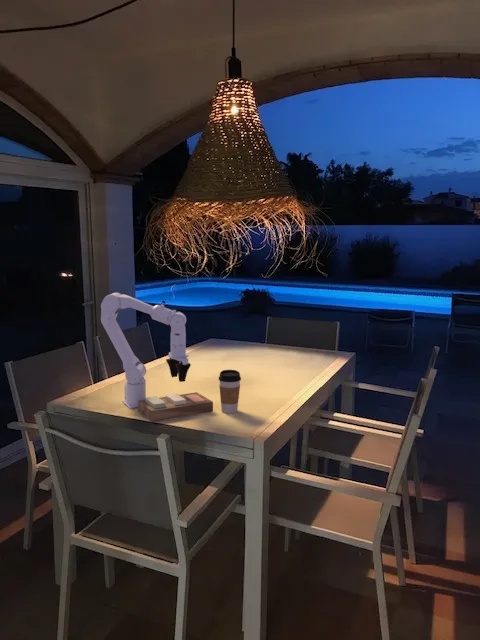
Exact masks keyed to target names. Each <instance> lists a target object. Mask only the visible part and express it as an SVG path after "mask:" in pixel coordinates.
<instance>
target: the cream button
mask: <svg viewBox="0 0 480 640" xmlns="http://www.w3.org/2000/svg"><path fill="white" fill-rule="evenodd" d="M180 395H181V394H178V393H170V394H165V395H164V397H166V400H167V401H169V402H170V403H171V404H173V405H174V406H175V405H182V404H186V399H184V398H183V397H181V396H180Z"/></svg>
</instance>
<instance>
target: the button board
mask: <svg viewBox="0 0 480 640" xmlns="http://www.w3.org/2000/svg"><path fill="white" fill-rule="evenodd" d="M194 394H196V395H198V396H199V397H201V398H203V399H204V400H206V401H201V402H193V401H191V400H190V399H188V398H187V397H185V396H187V395H194ZM179 395H180V396H181V397H183V398H184V399H186V404H182V405H175V406H174V405H173V404H171V403H170V402H169V401H167V400H166V397H165V396H162V397H161V396H160V397H159V398H160V399H161V400H163V401H164V402H165V403H166V407H162V408H156V409H153V408H152V407H151V406H149V405H148V404H147V403H145V400H139V401H138V407H137V408H138V412H139V413H140V414H142V415H143V416H144V417H145V418H146V419H148V420H149V422H151V423H156V422H161V421H166V420H167V421H168V420H172V419H179V418H187V417H191V416H197V415H202V414H203V415H204V414H210V413H213V412H214V402H213V400H211V399H209V398H208V397H206V396H204V395H202V394H201V393H199V392H197V391H196V392H189V393H183V394H182V393H181V394H179Z"/></svg>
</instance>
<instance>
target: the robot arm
mask: <svg viewBox="0 0 480 640" xmlns="http://www.w3.org/2000/svg"><path fill="white" fill-rule="evenodd" d="M129 308H131V309H134V310H136V311H139V312H142V313H146V314H148V315H150V317H151V319H152V320H155V321H157V322H159V323H163V324H164V325H167V326H169V325H170V352H168V357H169V358H166V359H165V360H166V363H167V364H168V365H167V366H168V367H169V368H168V369H169V372H170V377H171V378H176V377H178V381H179V383H182V382H186V378H187V374H188V372H189V369H190V367H191V363H190V362H189V356H190V355H189V354H187V353H186V352H187V350H186V349H187V347H186V346H187V345H186V344H187V339H186V338H187V337H186V336H187V334H186V333H187V332H186V323H187V317H186V315H185V314H184V313H183V312H181V311H177V310H176V309H170V308H167V307H165V304H156V305H154V306H153V305H151V304H149V303H147V302H146V303H145V302H143V301H142V300H139V299H137V298H135V297H132V296H130V295H128V294H125V293H124V294H121V293H120V292H113V293H111V294H108V295H106V296H105V297H104V298H103V300H102V302H101V304H100V309H101V311H100V321H101V324H102V326H103V328H104V330H105V331H106V334H107V335H108V337H109V339H110V341H111V343H112V344H113V347H114V349H115V350H116V352H117V354H118V356H119V358H120V359H121V361H122V367H123V368H122V369H123V371H124V372H125V373H124V375H125V380H126V382H125V383H124V386H123V387H124V399H123V400H122V401H121V402H122V403H123V404H124V405H125V406H127V407H128V408H129V409H134V408H138V401H139V400H145V398H147V394H146V393H147V392H146V391H147V390H146V389H147V387H146V386H147V385H146V384H147V382H146V379H145V375H146V373H147V368H146V366H145V364H144V363H142V362H141V361H140V360H139V357H137V356H136V355H135V353H134V352H133V350H132V348H131V346H130V344H129V343H128V340H127V339H126V336H125V334H124V333H123V331H122V329H121V327H120V324H119V323H118V321H117V317H118V314H119V311H120V310H125V309H129Z"/></svg>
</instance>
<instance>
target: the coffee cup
mask: <svg viewBox="0 0 480 640" xmlns="http://www.w3.org/2000/svg"><path fill="white" fill-rule="evenodd" d="M241 380H242V377H241V373H240V371H238V370H236V369H223V370H221V371H220V372H219V376H218V381H219V386H218V387H219V397H220V407H221V412H222V413H224V414H228V415H230V414H236V413H237V412H238V407H239V398H240V390H241V384H240V382H241Z"/></svg>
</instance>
